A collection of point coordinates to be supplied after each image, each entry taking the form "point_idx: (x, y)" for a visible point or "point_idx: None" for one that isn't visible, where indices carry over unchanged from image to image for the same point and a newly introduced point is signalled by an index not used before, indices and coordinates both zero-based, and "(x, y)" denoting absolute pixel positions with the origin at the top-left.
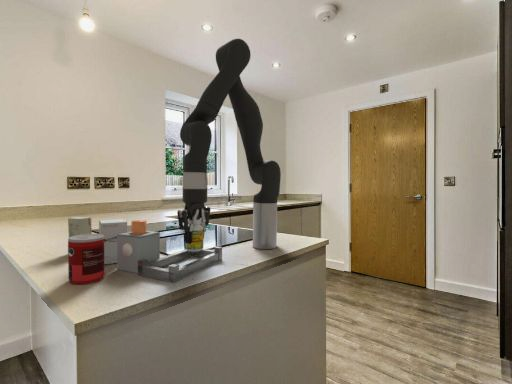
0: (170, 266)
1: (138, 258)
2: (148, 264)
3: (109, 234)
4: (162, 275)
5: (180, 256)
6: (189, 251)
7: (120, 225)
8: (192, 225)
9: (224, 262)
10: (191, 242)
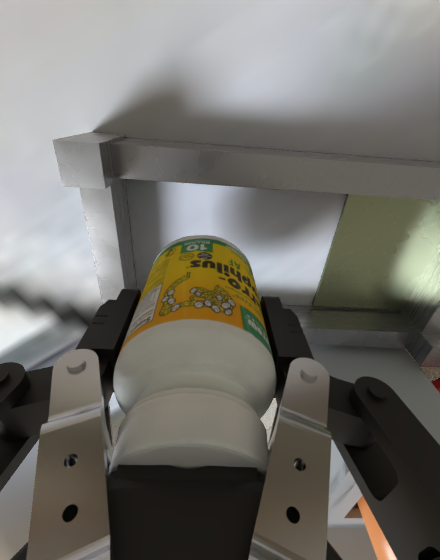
0: None
1: (426, 376)
2: (412, 333)
3: (363, 537)
4: None
5: None
6: None
7: None
8: (294, 405)
9: (136, 78)
10: (272, 297)
